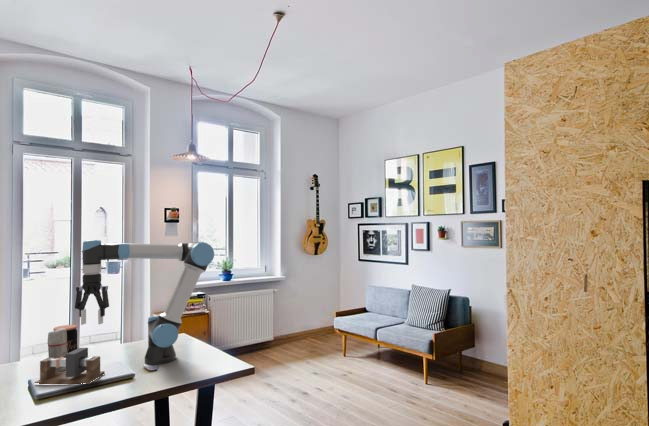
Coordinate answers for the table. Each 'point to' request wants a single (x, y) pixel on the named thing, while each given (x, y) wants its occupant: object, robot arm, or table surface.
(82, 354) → the tall grey notched block
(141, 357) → the table surface
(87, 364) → the pipe stand
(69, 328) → the coffee jar
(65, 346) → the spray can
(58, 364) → the light grey long bar
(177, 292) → the robot arm
